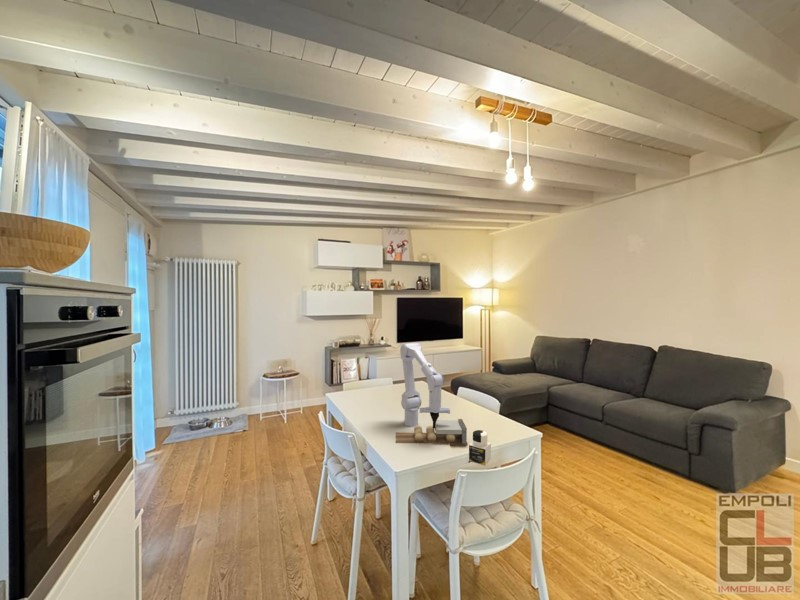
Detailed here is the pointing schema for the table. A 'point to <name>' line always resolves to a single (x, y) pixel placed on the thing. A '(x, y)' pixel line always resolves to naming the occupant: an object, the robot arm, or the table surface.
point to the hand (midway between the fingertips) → (434, 427)
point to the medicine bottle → (480, 448)
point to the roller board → (425, 440)
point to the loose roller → (450, 437)
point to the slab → (447, 427)
